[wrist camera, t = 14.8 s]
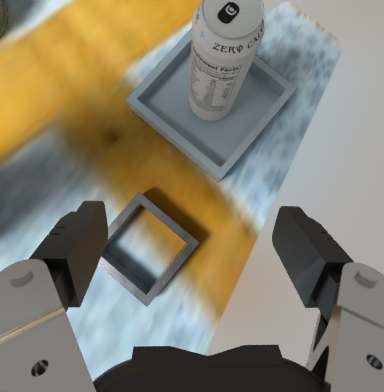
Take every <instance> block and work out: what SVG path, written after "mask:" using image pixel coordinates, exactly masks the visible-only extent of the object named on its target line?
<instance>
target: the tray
mask: <svg viewBox="0 0 384 392" xmlns="http://www.w3.org/2000/svg"><path fill="white" fill-rule="evenodd" d="M191 42H192V28H191V29H190V30H189V32H188V33H187V34H186V35H185V36H184V37H183V38H182V39H181V40H180V41H179V42H178V43H177V45H176V46H175V47H174V48H173V49H172V50H171V51H170V52H169V53H168V54H167V55H166V57H165V58H164V59H163V60H162V61H161V62H160V63H159V64H158V65H157V66H156V67H155V69H154V70H153V71H152V72H151V73H150V74H149V75H148V76H147V77H146V78H145V79H144V81H143V82H142V83H141V84H140V85H139V86H138V87H137V88H136V89H135V90H134V91H133V93H132V94H131V95H130V96H129V97H128V98H127V99H126V101H127V103H128V105H129V107H130V109H131V111H133V112H134V113H135V114H136V115H137V116H139V117H140V118H141V119H142V120H143V121H145V122H146V123H147V124H148V125H150V126H151V127H152V128H153V129H154V130H156V131H157V132H158V133H159V134H160V135H162V136H163V137H164V138H165V139H166V140H168V141H169V142H170V143H171V144H172V145H174V146H175V147H176V148H177V149H178V150H180V151H181V152H182V153H183V154H184V155H186V156H187V157H188V158H189V159H190V160H192V161H193V162H194V163H195V164H196V165H198V166H199V167H200V168H201V169H203V170H204V171H205V172H206V173H207V174H209V175H210V176H211V177H212V178H213V179H215V180H216V181H217V182H219V181H220V180H221V179H222V178H223V177H224V175H225V174H226V173H227V172H228V171H229V169H230V168H231V167H232V166H233V165H234V163H235V162H236V161H237V160H238V159H239V157H240V156H241V155H242V154H243V153H244V151H245V150H246V149H247V148H248V147H249V145H250V144H251V143H252V142H253V141H254V139H255V138H256V137H257V136H258V134H259V133H260V132H261V131H262V130H263V128H264V127H265V126H266V125H267V124H268V122H269V121H270V120H271V119H272V118H273V116H274V115H275V114H276V113H277V112H278V110H279V109H280V108H281V107H282V106H283V104H284V103H285V102H286V101H287V100H288V98H289V97H290V96H291V95H292V94H293V92H294V91H295V90H296V89H297V88H296V87H295V86H293V85H292V84H291V83H290V82H288V81H287V80H286V79H285V78H283V77H282V76H281V75H280V74H279V73H277V72H276V71H275V70H274V69H272V68H271V67H270V66H269V65H267V64H266V63H265V62H264V61H262V60H261V59H260V58H259V57H257V56H256V55H255V56H254V59H253V61H252V63H251V65H250V68H249V70H248V72H247V74H246V77H245V79H244V81H243V83H242V86H241V88H240V90H239V92H238V95H237V97H236V99H235V101H234V104H233V106H232V108H231V110H230V112H229V113H228V114H227V115H226V116H225V117H224V118H222V119H220V120H216V121H207V120H203V119H201V118H199V117H198V116H197V115H196V114H195V113H194V112H193V111H192V109H191V107H190V104H189V86H190V64H191Z"/></svg>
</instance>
